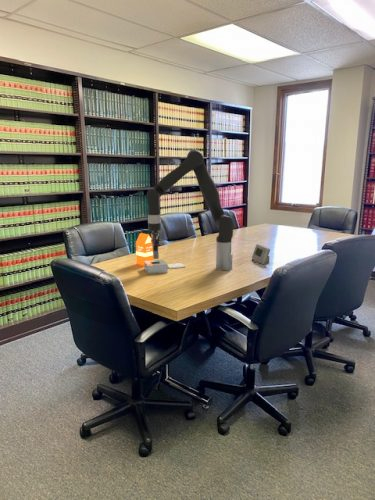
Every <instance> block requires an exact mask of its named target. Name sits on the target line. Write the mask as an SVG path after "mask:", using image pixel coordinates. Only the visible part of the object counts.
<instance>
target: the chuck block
mask: <svg viewBox="0 0 375 500" xmlns="http://www.w3.org/2000/svg"><path fill="white" fill-rule="evenodd" d="M168 264H169V263H167V262H166V261H165V260H164V259H154V260H152V261H144V266H143V267H144V268H143V269H144V270H145V272H146V274H147V275H154V274H155V275H156V274H165V273H166V274H167V273H168V272H169V270H168V269H169V268H168Z"/></svg>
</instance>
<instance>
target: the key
mask: <svg viewBox="0 0 375 500" xmlns="http://www.w3.org/2000/svg"><path fill="white" fill-rule="evenodd" d="M151 243H152V252H153V259H154V260H160V259H159V256H160V255H159V250H158V251H154V241H153V240H151ZM156 243H157V242H156Z"/></svg>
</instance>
